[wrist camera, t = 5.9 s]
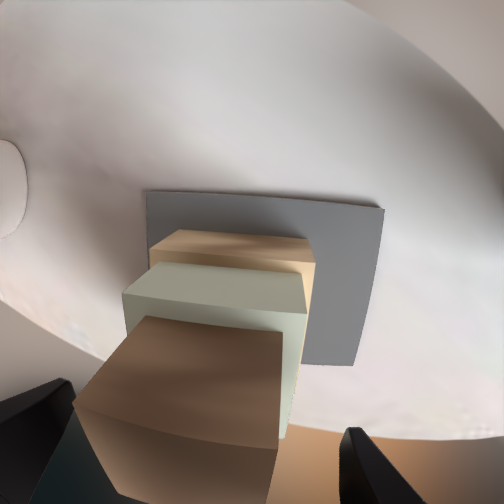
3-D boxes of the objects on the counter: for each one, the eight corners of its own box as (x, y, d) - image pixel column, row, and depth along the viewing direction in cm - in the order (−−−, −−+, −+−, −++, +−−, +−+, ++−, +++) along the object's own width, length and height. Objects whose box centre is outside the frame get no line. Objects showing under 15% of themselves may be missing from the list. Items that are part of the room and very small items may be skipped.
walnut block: (282, 332, 9) (278, 449, 5) (270, 426, 10) (260, 524, 6) (145, 315, 9) (71, 402, 5) (159, 409, 11) (118, 493, 6)
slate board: (381, 208, 15) (384, 209, 15) (351, 360, 18) (352, 365, 18) (150, 191, 17) (146, 192, 16) (158, 341, 19) (155, 345, 19)
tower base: (308, 239, 16) (315, 263, 12) (293, 350, 18) (294, 393, 14) (179, 229, 16) (149, 248, 13) (182, 338, 18) (161, 376, 15)
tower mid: (301, 273, 12) (307, 313, 9) (285, 386, 14) (284, 438, 11) (159, 260, 13) (121, 292, 9) (168, 371, 14) (144, 416, 11)
